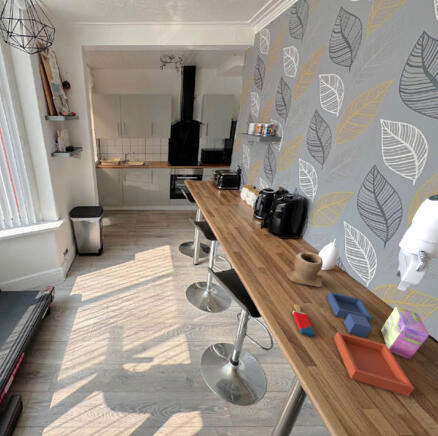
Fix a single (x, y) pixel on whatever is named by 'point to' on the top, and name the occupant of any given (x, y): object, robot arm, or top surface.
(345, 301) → the slate bin
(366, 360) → the terracotta bin
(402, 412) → the top surface
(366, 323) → the slate block
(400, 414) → the top surface
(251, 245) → the top surface
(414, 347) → the box
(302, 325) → the popsicle
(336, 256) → the sauce bottle
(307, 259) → the stone cup
